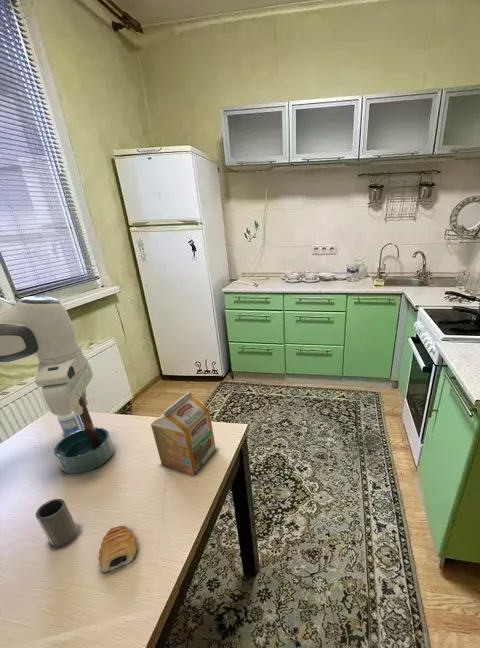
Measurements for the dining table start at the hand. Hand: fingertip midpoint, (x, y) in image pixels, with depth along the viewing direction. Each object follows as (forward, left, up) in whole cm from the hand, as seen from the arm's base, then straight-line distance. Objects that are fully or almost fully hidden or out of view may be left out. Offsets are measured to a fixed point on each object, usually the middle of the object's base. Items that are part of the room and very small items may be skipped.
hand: (81, 409), depth 85 cm
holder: (-1, -26, -16) cm, 31 cm away
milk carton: (+25, -8, -17) cm, 31 cm away
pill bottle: (-11, +15, -17) cm, 25 cm away
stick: (0, 0, -14) cm, 14 cm away
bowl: (-3, 0, -16) cm, 17 cm away
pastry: (+11, -33, -17) cm, 38 cm away
